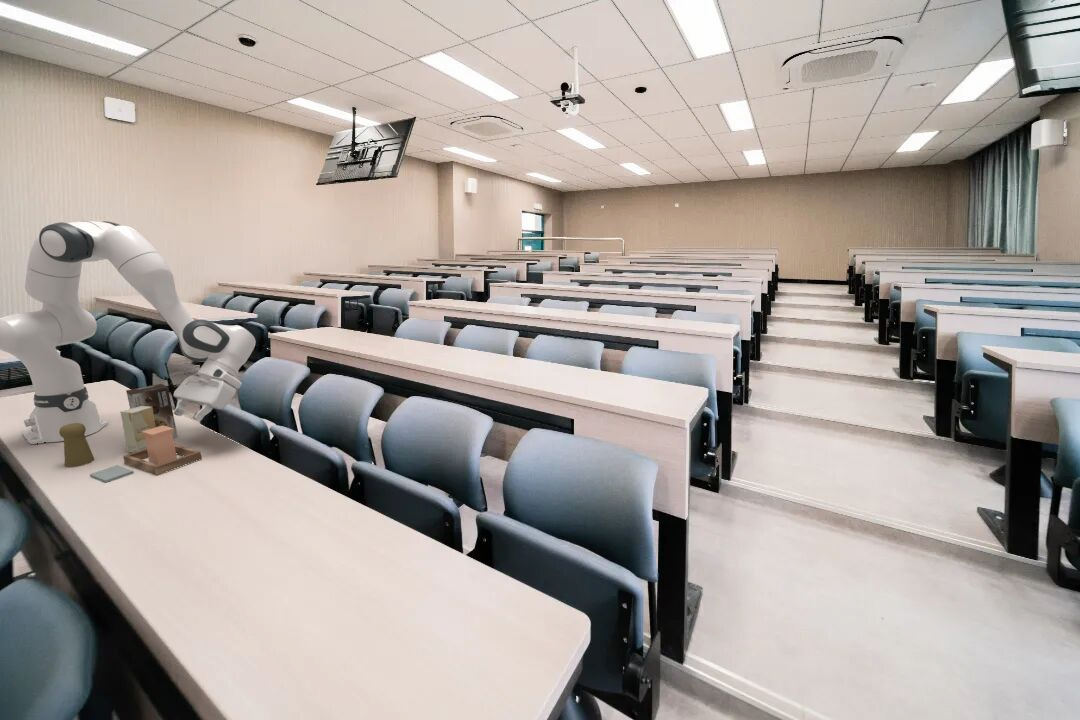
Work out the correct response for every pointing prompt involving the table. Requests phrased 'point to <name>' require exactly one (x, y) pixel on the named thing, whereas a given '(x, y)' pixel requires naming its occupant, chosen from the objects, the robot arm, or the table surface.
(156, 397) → the coffee box
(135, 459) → the walnut frame
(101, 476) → the slate mat
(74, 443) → the cork
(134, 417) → the skincare box
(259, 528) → the table surface
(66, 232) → the robot arm
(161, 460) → the peach upright block
